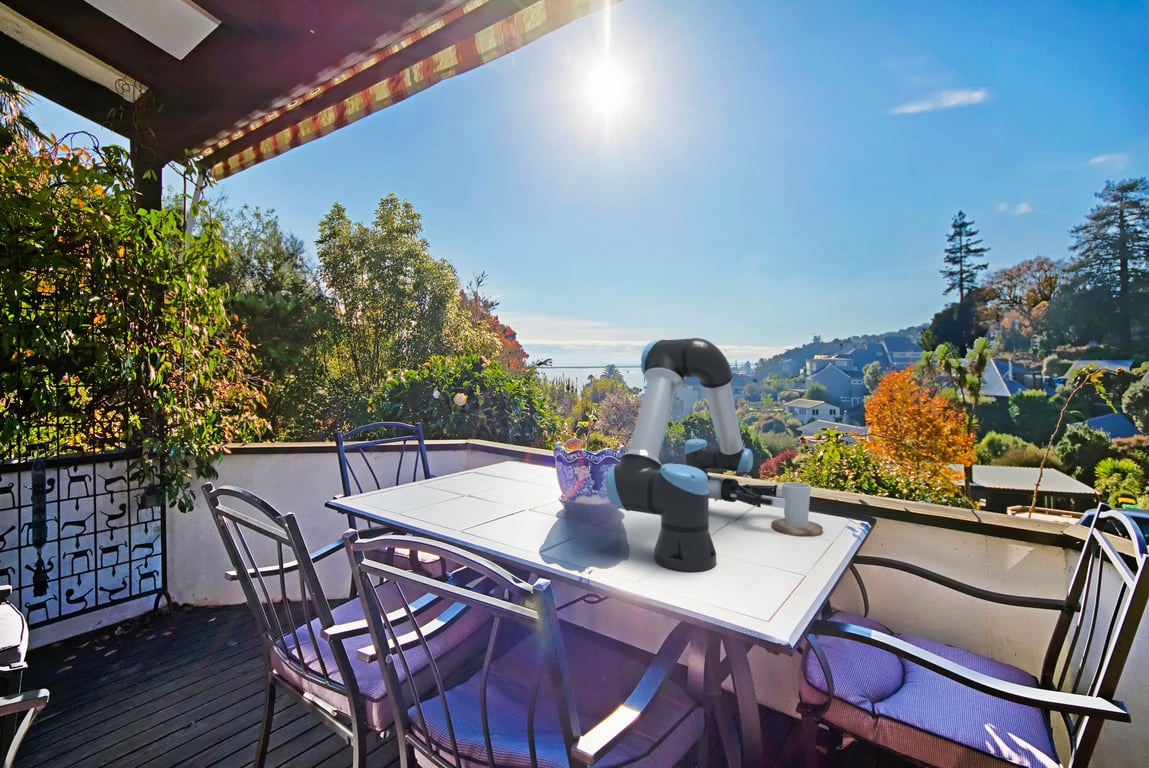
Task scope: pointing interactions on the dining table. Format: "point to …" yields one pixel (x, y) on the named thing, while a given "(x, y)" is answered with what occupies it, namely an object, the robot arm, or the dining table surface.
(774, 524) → the disc
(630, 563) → the dining table surface
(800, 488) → the cup
